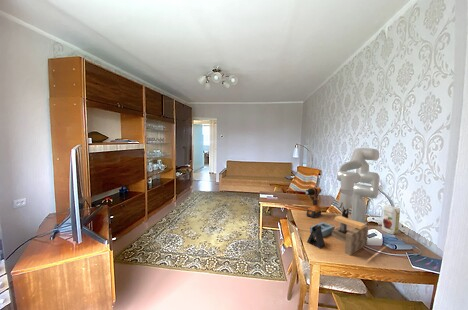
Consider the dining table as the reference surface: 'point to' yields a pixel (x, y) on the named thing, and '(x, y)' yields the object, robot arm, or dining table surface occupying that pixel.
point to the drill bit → (343, 228)
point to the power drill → (314, 202)
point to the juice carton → (390, 219)
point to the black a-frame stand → (319, 237)
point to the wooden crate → (352, 238)
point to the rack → (324, 228)
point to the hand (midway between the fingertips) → (344, 218)
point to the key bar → (350, 222)
